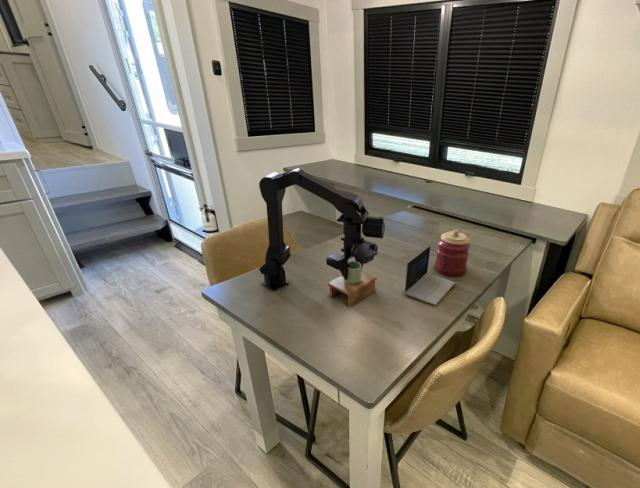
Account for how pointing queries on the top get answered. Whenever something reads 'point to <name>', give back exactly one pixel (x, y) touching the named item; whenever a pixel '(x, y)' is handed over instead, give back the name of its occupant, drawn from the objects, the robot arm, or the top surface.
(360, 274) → the ramekin
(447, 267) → the kitchen canister
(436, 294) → the laptop
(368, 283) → the shelf
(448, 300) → the top surface
